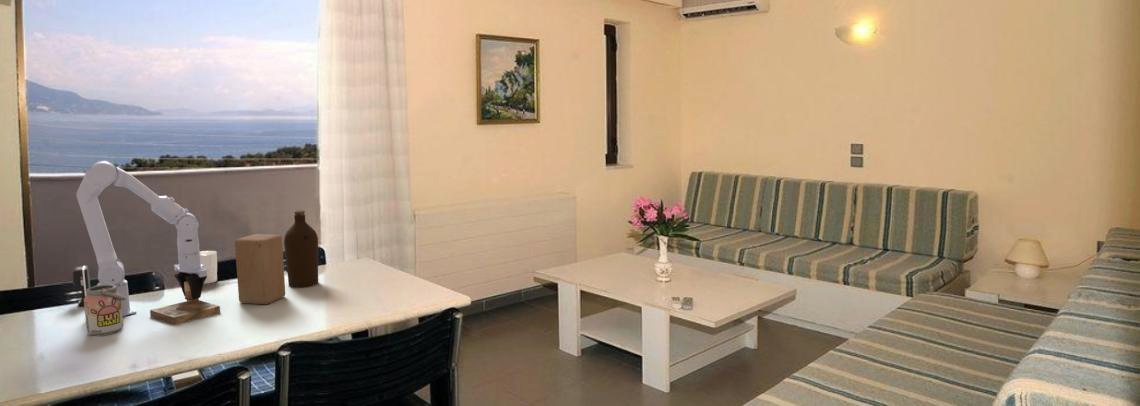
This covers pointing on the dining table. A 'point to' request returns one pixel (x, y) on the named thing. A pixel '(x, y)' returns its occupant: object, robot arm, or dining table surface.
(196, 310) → the board
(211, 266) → the white cup
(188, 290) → the peg
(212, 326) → the dining table surface
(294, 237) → the olive oil
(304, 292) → the dining table surface
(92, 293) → the beverage can
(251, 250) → the wooden block
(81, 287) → the battery charger
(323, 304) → the dining table surface
